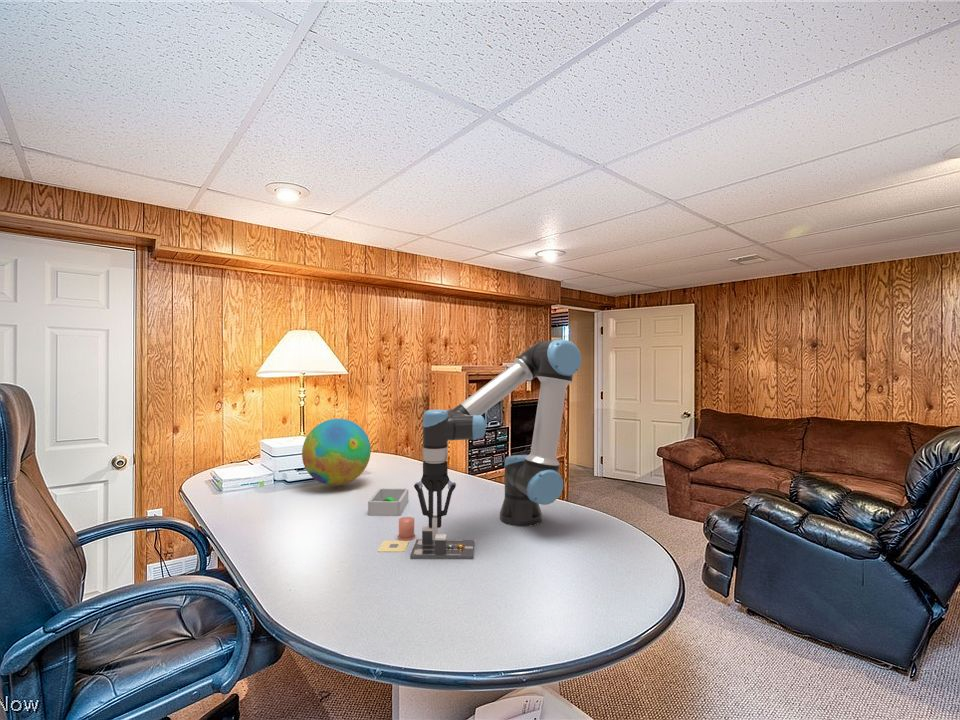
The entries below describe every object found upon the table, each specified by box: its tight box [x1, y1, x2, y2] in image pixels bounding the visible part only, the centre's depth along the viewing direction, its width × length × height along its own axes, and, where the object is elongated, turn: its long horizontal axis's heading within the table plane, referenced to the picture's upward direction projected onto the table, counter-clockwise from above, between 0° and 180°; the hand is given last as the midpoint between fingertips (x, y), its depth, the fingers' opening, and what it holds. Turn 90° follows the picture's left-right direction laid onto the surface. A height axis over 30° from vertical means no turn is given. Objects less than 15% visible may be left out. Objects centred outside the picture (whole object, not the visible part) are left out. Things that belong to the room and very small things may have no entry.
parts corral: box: [367, 487, 409, 517], centre depth 181 cm, size 12×18×5 cm, turn 179°
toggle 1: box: [421, 525, 433, 544], centre depth 143 cm, size 3×3×5 cm
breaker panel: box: [409, 538, 475, 560], centre depth 139 cm, size 18×12×2 cm, turn 89°
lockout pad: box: [377, 540, 410, 553], centre depth 142 cm, size 8×8×1 cm
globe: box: [301, 418, 372, 487], centre depth 214 cm, size 30×30×30 cm
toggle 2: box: [435, 533, 447, 554], centre depth 136 cm, size 3×3×5 cm
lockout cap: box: [397, 516, 416, 541], centre depth 150 cm, size 6×6×6 cm
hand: (435, 537), depth 143 cm, fingers closed
